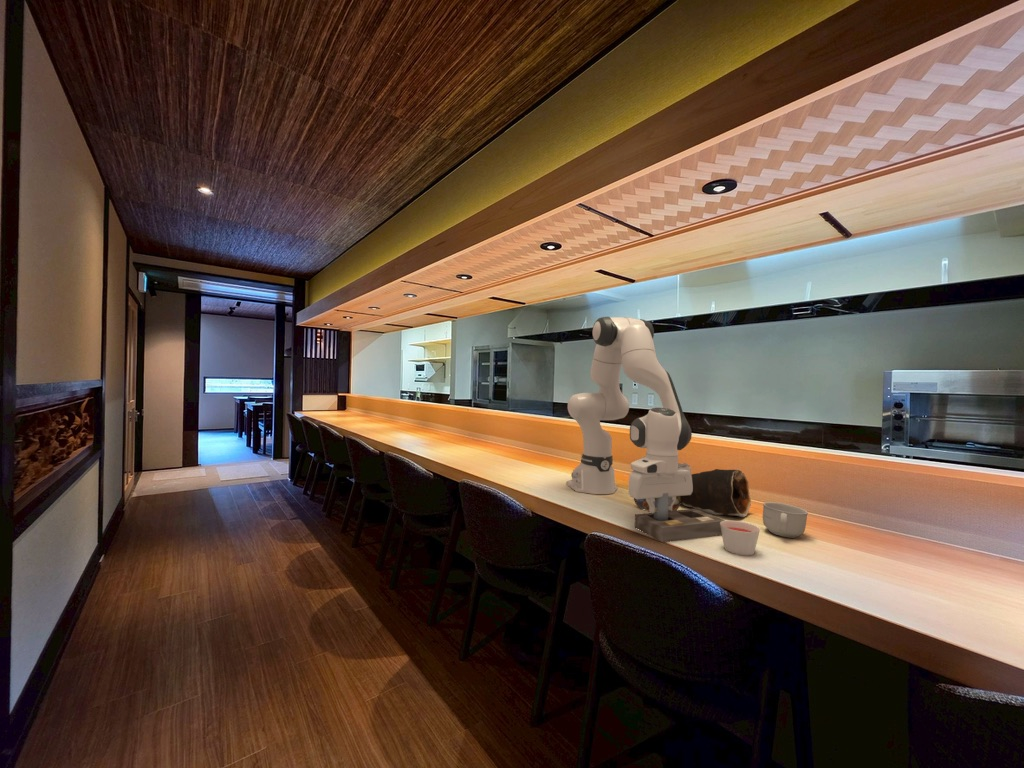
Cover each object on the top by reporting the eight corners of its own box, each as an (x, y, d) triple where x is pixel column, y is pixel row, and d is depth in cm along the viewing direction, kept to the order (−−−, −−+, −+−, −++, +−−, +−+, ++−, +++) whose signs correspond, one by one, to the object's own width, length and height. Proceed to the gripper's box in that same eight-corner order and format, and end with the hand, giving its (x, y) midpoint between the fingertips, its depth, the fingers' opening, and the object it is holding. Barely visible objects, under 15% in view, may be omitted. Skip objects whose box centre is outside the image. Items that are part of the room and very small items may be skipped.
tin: (633, 508, 144) (633, 483, 144) (634, 506, 146) (635, 482, 146) (679, 515, 137) (680, 489, 137) (680, 512, 139) (681, 487, 139)
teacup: (768, 525, 128) (768, 499, 128) (810, 534, 121) (811, 507, 121) (754, 536, 119) (755, 508, 119) (799, 547, 111) (800, 517, 111)
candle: (743, 560, 102) (744, 534, 102) (711, 546, 110) (712, 522, 110) (767, 554, 106) (767, 529, 106) (734, 542, 114) (735, 518, 114)
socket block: (634, 527, 123) (635, 513, 123) (694, 521, 131) (694, 507, 131) (662, 542, 112) (662, 526, 112) (725, 534, 119) (725, 519, 119)
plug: (650, 524, 122) (651, 490, 122) (661, 523, 123) (662, 489, 123) (659, 529, 118) (660, 493, 118) (671, 527, 120) (671, 493, 120)
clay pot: (675, 466, 160) (744, 463, 141) (684, 505, 159) (755, 508, 140) (656, 476, 149) (728, 475, 131) (665, 518, 149) (739, 523, 130)
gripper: (683, 460, 127) (681, 506, 127) (625, 463, 121) (624, 511, 121) (698, 464, 121) (697, 512, 121) (639, 467, 115) (638, 518, 115)
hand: (660, 511), depth 121 cm, fingers closed on plug, 4 cm apart
